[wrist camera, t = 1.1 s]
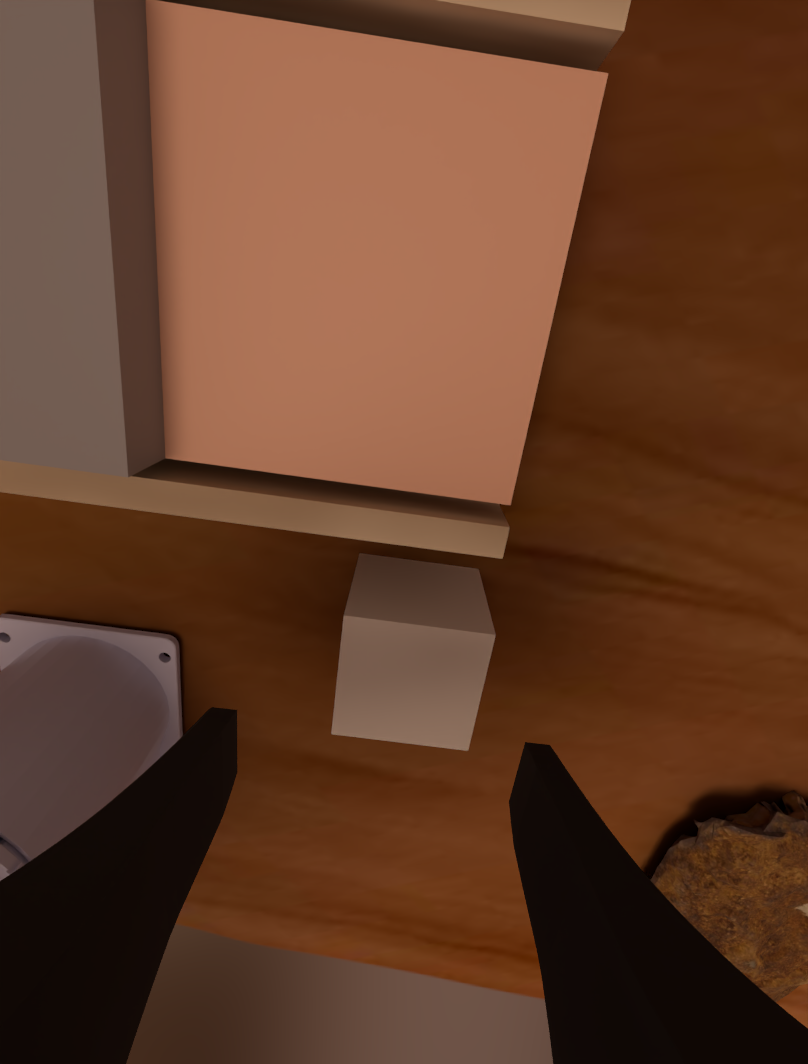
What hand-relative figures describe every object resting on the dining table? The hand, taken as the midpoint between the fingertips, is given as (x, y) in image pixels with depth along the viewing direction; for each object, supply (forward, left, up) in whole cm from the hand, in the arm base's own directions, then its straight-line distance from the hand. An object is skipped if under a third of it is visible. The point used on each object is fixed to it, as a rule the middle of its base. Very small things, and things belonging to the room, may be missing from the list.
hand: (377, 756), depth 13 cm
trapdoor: (+11, +4, -5) cm, 13 cm away
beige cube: (-1, -1, -10) cm, 10 cm away
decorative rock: (-16, -21, -10) cm, 28 cm away
